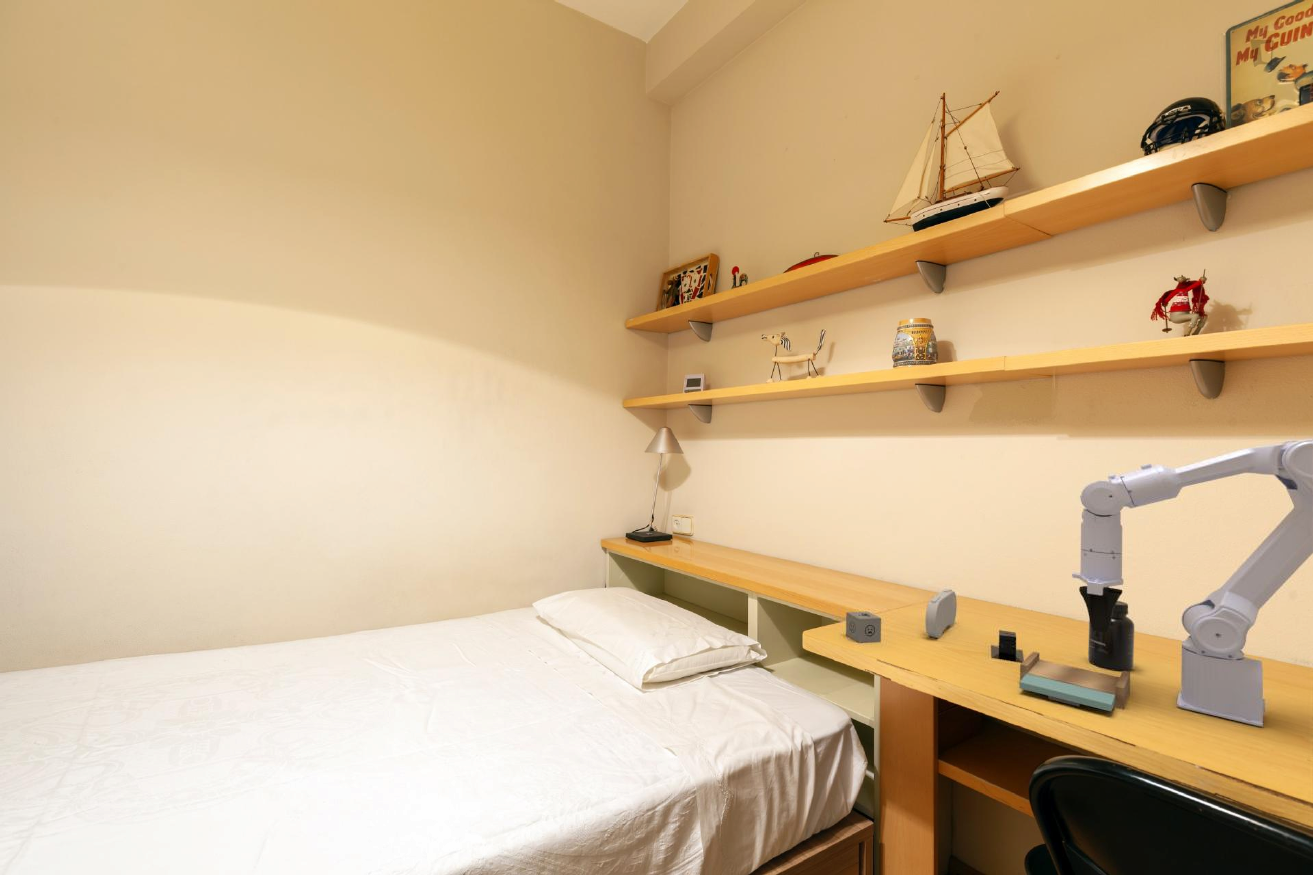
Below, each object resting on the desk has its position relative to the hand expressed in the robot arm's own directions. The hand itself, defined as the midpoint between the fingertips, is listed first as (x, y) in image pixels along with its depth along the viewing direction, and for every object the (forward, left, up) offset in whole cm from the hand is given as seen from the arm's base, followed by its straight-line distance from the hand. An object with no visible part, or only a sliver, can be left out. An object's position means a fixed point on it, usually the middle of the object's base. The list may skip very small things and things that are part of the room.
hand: (1100, 630), depth 102 cm
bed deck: (+3, +4, -9) cm, 11 cm away
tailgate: (+3, +9, -7) cm, 12 cm away
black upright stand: (+16, -7, -10) cm, 20 cm away
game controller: (+30, -14, -10) cm, 34 cm away
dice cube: (+39, +5, -10) cm, 41 cm away
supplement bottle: (0, -15, -10) cm, 18 cm away
